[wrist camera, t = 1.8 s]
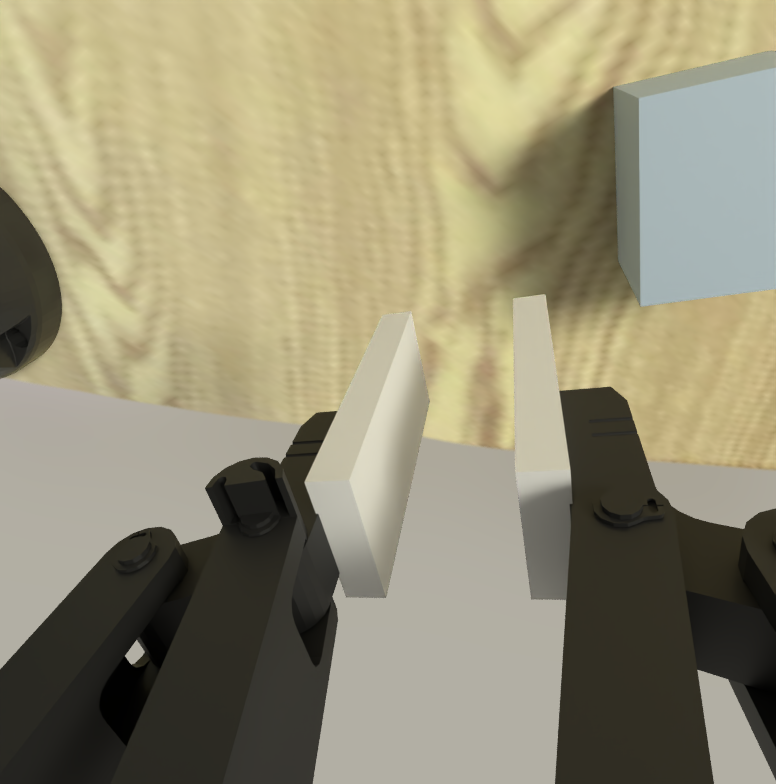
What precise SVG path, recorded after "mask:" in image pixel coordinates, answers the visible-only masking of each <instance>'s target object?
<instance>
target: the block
mask: <svg viewBox="0 0 776 784" xmlns="http://www.w3.org/2000/svg"><path fill="white" fill-rule="evenodd" d="M613 94H614V130H615V166H616V202H617V238H618V262H619V264H620V266H621V268H622V270H623V272H624V274H625V276H626V278H627V280H628V282H629V284H630V286H631V288H632V290H633V292H634V294H635V296H636V298H637V300H638V302H639V304H640V306H649V305H656V304H664V303H672V302H679V301H687V300H695V299H702V298H710V297H718V296H725V295H733V294H741V293H748V292H756V291H764V290H771V289H776V51H766V52H762V53H757V54H753V55H749V56H745V57H740V58H736V59H732V60H727V61H723V62H719V63H714V64H710V65H706V66H701V67H697V68H693V69H689V70H684V71H680V72H676V73H671V74H667V75H663V76H658V77H654V78H650V79H645V80H641V81H637V82H633V83H628V84H624V85H620V86H615V87H613Z"/></svg>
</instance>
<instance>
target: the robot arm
mask: <svg viewBox="0 0 776 784" xmlns="http://www.w3.org/2000/svg"><path fill="white" fill-rule="evenodd" d="M61 314H62V302H61V292H60V287H59V282H58V278H57V275H56V271H55V269H54V266H53V263H52V261H51V258H50V256H49V254H48V251H47V249H46V247H45V245H44V244H43V242H42V240H41V238H40V236H39V235H38V233H37V231H36V230H35V228H34V227H33V225H32V224H31V222H30V221H29V219H28V218H27V217H26V215H25V214H24V213H23V212H22V210H21V209H20V208H19V207H18V205H17V204H16V203H15V202H14V201H13V200H12V199H11V198H10V196H9V195H8V194H7V193H6V192H5V191H4V190H3V189H2V188H1V187H0V379H1V378H3V377H6V376H8V375H11V374H13V373H15V372H17V371H18V370H20V369H21V368H23V367H24V366H26V365H27V364H29V363H30V362H32V361H33V360H35V359H36V358H38V357H39V356H41V355H42V354H43V353H44V352H45V351H46V350H47V349H48V348H49V347H50V346H51V344H52V343H53V341H54V339H55V337H56V335H57V333H58V330H59V326H60V321H61ZM513 340H514V414H515V474H516V482H517V489H518V498H519V505H520V513H521V522H522V529H523V536H524V545H525V553H526V560H527V569H528V577H529V585H530V593H531V599H552V600H553V599H554V600H556V599H557V600H559V599H560V600H566V615H565V631H564V647H563V664H562V665H563V666H562V680H561V697H560V713H559V729H558V745H557V746H558V747H557V761H556V778H555V784H714V781H713V775H712V768H711V761H710V754H709V748H708V740H707V734H706V727H705V720H704V713H703V706H702V699H701V693H700V686H699V679H698V672H697V669H698V670H701V671H704V672H707V673H710V674H713V675H716V676H720V677H723V678H726V679H729V682H730V684H731V686H732V688H733V690H734V693H735V695H736V697H737V699H738V701H739V703H740V705H741V707H742V710H743V712H744V713H745V716H746V718H747V720H748V722H749V724H750V726H751V729H752V731H753V733H754V735H755V737H756V739H757V741H758V743H759V746H760V748H761V750H762V752H763V754H764V756H765V758H766V760H767V762H768V764H769V766H770V769H771V771H772V773H773V775H774V777H775V779H776V509H772V510H768V511H764V512H760V513H758V514H757V515H755V516H754V517H753V518H751V519H750V520H749V521H747V522H746V525H745V529H740V528H734V527H729V526H724V525H719V524H714V523H709V522H706V521H702V520H699V519H695V518H692V517H690V516H688V515H686V514H684V513H681V512H679V511H678V510H676V509H675V508H673V507H672V506H671V505H670V503H669V501H668V499H666V498H665V497H664V496H663V495H662V494H661V493H659V492H658V491H657V489H656V487H655V484H654V481H653V478H652V475H651V472H650V469H649V466H648V463H647V460H646V457H645V454H644V451H643V448H642V445H641V442H640V439H639V436H638V434H637V430H636V427H635V424H634V421H633V419H632V414H631V411H630V408H629V405H628V402H627V400H626V399H625V398H624V397H622V396H621V395H620V394H619V393H618V392H616V391H615V390H614V389H613V388H612V387H602V388H590V389H578V390H566V391H559V386H558V379H557V372H556V365H555V358H554V351H553V344H552V337H551V330H550V323H549V316H548V309H547V302H546V295H545V294H542V295H535V296H527V297H519V298H513ZM429 402H430V401H429V396H428V391H427V386H426V381H425V377H424V372H423V367H422V362H421V357H420V352H419V347H418V342H417V337H416V333H415V328H414V323H413V318H412V313H411V311H409V312H401V313H393V314H386V315H382V317H381V319H380V321H379V323H378V326H377V328H376V330H375V332H374V334H373V336H372V338H371V341H370V343H369V345H368V347H367V349H366V351H365V353H364V356H363V358H362V360H361V362H360V364H359V366H358V368H357V371H356V373H355V375H354V377H353V379H352V381H351V383H350V386H349V388H348V390H347V392H346V394H345V396H344V398H343V401H342V403H341V405H340V407H339V409H338V411H332V412H320V413H316V414H315V415H314V416H312V417H311V418H310V419H309V420H308V421H307V422H306V423H305V424H303V425H302V426H301V427H300V429H299V431H298V433H297V435H296V437H295V439H294V440H293V445H291V446H290V448H289V449H288V451H287V453H286V458H284V459H283V461H282V462H281V464H279V462H278V461H276V460H273V459H270V458H251V459H247V460H243V461H239V462H237V463H235V464H233V465H231V466H229V467H227V468H225V469H224V470H222V471H221V472H220V473H218V474H217V475H216V476H214V477H213V478H212V479H211V481H210V482H209V483H208V485H207V486H206V488H205V489H206V491H207V493H208V496H209V498H210V500H211V502H212V504H213V506H214V508H215V510H216V512H217V514H218V516H219V518H220V520H221V523H222V525H223V527H222V529H221V531H220V533H219V534H217V535H214V536H211V537H207V538H204V539H200V540H197V541H193V542H189V543H186V544H182V545H180V543H179V541H178V540H177V538H176V536H175V535H174V533H173V532H172V531H171V530H170V529H166V528H163V527H155V528H147V529H144V530H141V531H138V532H136V533H133V534H131V535H130V536H128V537H126V538H124V539H123V540H121V541H120V542H118V543H117V544H116V545H115V546H114V547H112V548H111V549H110V550H109V551H108V552H107V553H106V554H105V555H104V556H103V557H102V558H101V559H100V560H99V562H98V563H97V564H96V565H95V566H94V567H93V568H92V569H91V570H90V571H89V572H88V574H87V575H86V576H85V577H84V578H83V579H82V580H81V582H79V584H78V585H77V586H76V587H75V588H74V589H73V590H72V591H71V592H70V593H69V595H68V596H67V597H66V598H65V599H64V600H63V601H62V602H61V603H60V604H59V605H58V607H57V608H56V609H55V610H54V611H53V612H52V613H51V614H50V615H49V617H48V618H47V619H46V620H45V621H44V622H43V623H42V624H41V625H40V626H39V627H38V629H37V630H36V631H35V632H34V633H33V634H32V635H31V636H30V637H29V638H28V640H27V641H26V642H25V643H24V644H23V645H22V646H21V647H20V648H19V649H18V651H17V652H16V653H15V654H14V655H13V656H12V657H11V658H10V659H9V661H8V662H7V663H6V664H5V665H4V666H3V667H2V668H1V669H0V784H313V777H314V770H315V764H316V758H317V751H318V745H319V739H320V732H321V726H322V719H323V713H324V706H325V700H326V693H327V687H328V681H329V674H330V668H331V661H332V655H333V648H334V642H335V635H336V628H337V622H338V617H337V608H336V605H335V603H334V600H333V598H332V596H333V593H334V590H335V587H336V584H337V580H338V577H339V578H340V581H341V584H342V587H343V590H344V592H345V595H346V597H369V598H373V597H374V598H386V596H387V591H388V587H389V582H390V578H391V573H392V569H393V564H394V560H395V555H396V550H397V546H398V542H399V537H400V533H401V528H402V524H403V519H404V515H405V510H406V505H407V501H408V497H409V492H410V488H411V483H412V479H413V474H414V470H415V465H416V460H417V456H418V452H419V447H420V443H421V438H422V434H423V429H424V425H425V420H426V416H427V411H428V407H429ZM136 640H138V642H139V643H140V645H141V646H142V648H143V649H144V651H145V653H144V654H143V656H142V657H141V658H140V659H139V660H138V661H137V662H136V663H135V664H132V665H131V664H130V663H129V661H128V660H127V659H126V657H125V655H126V653H127V652H128V651H129V649H130V648H131V646H132V645H133V644H134V642H135V641H136Z"/></svg>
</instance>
